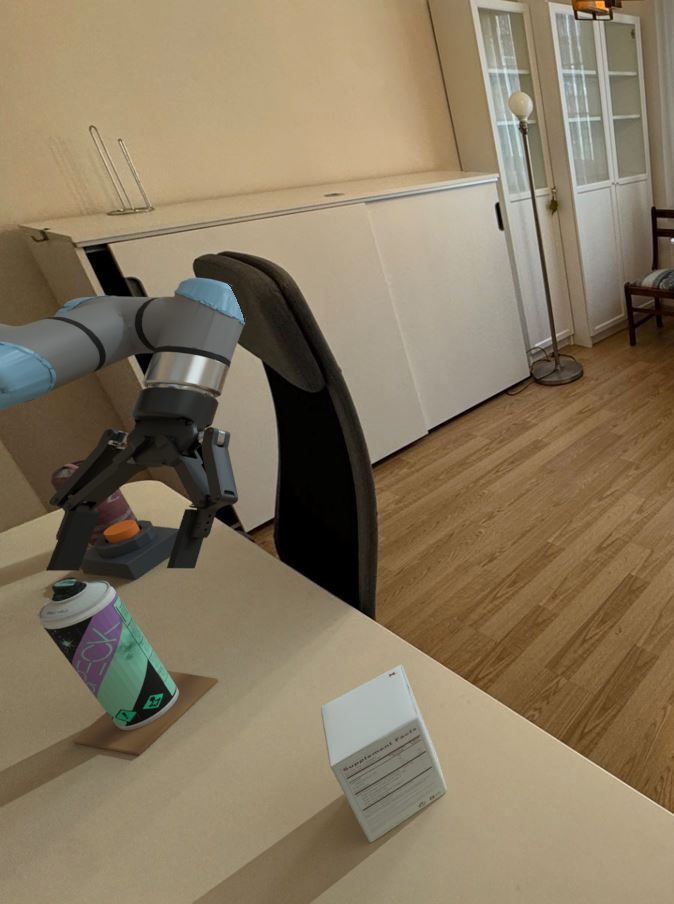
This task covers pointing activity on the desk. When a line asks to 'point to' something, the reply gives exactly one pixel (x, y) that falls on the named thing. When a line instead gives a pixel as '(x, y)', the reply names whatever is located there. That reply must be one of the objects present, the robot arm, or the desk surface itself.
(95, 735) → the wooden board
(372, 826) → the white packaging box
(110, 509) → the can
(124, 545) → the button housing
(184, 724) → the desk surface
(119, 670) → the spray can
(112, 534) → the orange button cap
